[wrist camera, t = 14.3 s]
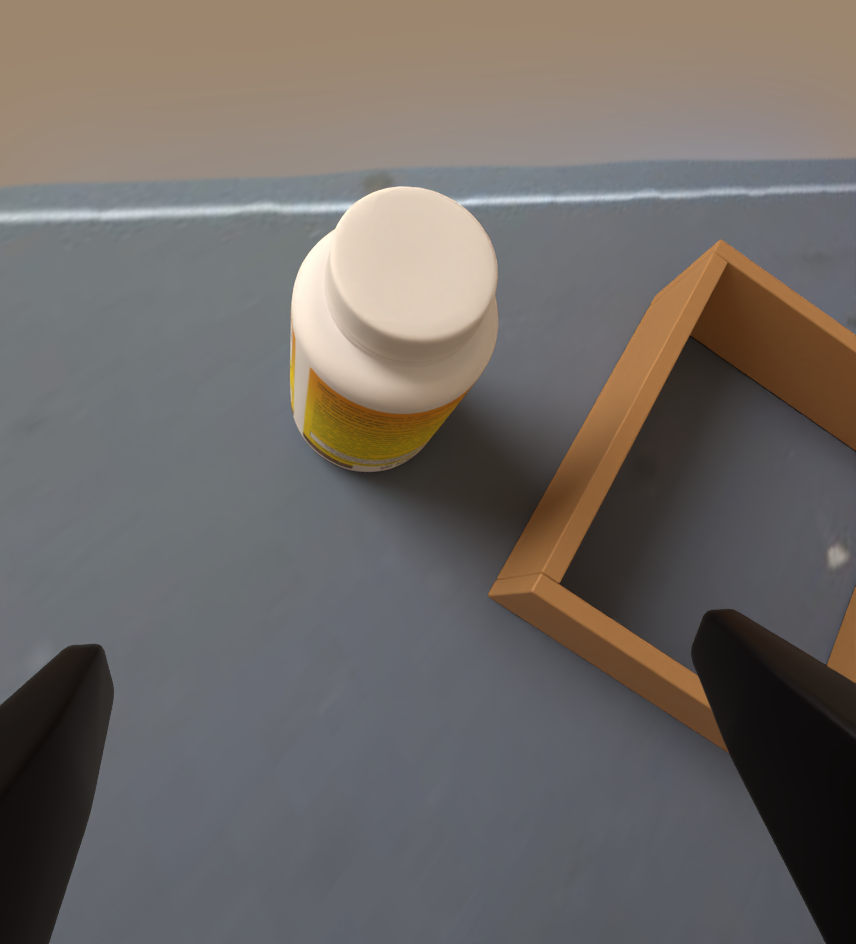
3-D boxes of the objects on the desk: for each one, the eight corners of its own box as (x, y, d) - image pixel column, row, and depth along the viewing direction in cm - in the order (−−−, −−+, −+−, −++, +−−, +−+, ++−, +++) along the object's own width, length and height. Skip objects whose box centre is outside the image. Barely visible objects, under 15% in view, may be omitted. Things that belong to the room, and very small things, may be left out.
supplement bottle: (456, 449, 25) (568, 340, 15) (319, 495, 23) (343, 408, 13) (405, 320, 25) (481, 135, 16) (269, 357, 24) (257, 177, 14)
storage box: (795, 797, 24) (903, 835, 20) (486, 595, 24) (530, 591, 19) (910, 474, 29) (1018, 449, 25) (654, 295, 28) (721, 237, 24)
